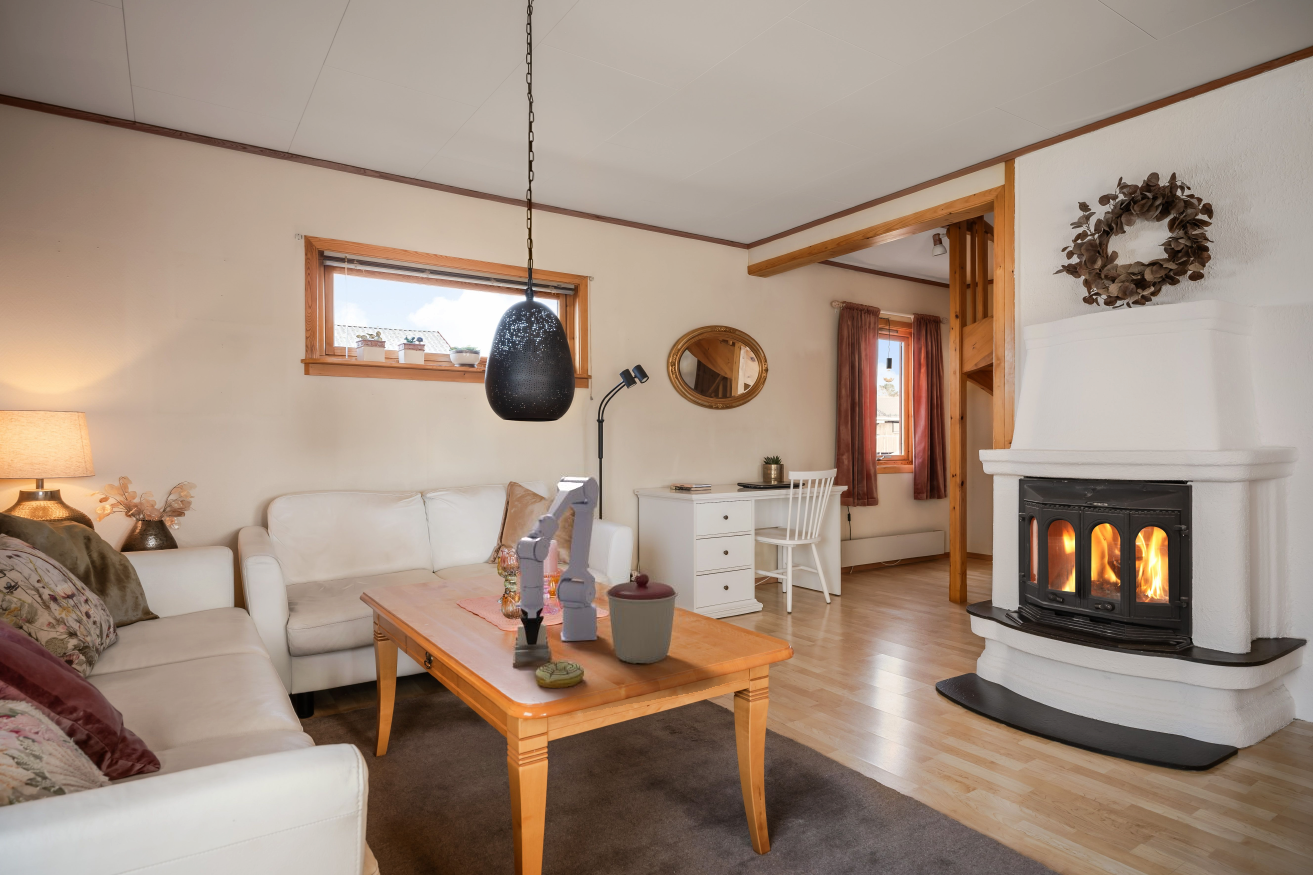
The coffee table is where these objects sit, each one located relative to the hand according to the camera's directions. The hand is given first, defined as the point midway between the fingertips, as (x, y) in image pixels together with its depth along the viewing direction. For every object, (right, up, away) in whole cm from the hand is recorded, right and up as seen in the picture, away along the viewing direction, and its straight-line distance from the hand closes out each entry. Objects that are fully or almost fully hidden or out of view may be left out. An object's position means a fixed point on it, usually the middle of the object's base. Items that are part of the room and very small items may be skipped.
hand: (531, 639), depth 179 cm
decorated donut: (+9, -5, -17) cm, 20 cm away
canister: (+27, -5, 0) cm, 28 cm away
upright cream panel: (0, -3, 0) cm, 3 cm away
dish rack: (0, -4, 0) cm, 4 cm away
